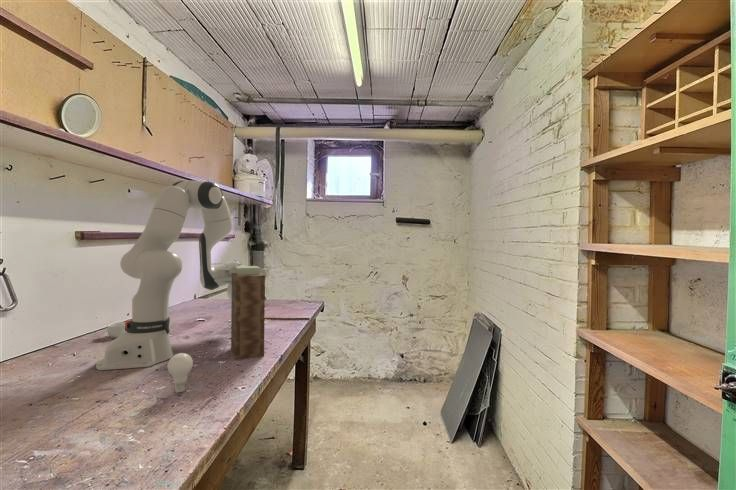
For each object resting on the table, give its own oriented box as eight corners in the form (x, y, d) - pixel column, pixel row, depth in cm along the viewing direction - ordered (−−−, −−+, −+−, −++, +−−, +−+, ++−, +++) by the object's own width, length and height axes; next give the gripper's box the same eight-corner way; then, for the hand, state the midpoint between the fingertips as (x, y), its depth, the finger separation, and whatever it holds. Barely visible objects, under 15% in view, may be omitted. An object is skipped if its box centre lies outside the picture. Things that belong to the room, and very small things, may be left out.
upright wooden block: (235, 360, 125) (236, 276, 125) (231, 348, 138) (231, 272, 137) (264, 356, 130) (264, 275, 129) (257, 345, 142) (258, 271, 142)
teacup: (128, 337, 151) (128, 325, 150) (106, 340, 146) (106, 327, 146) (129, 332, 159) (129, 320, 159) (108, 334, 155) (108, 322, 154)
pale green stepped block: (237, 275, 129) (237, 268, 129) (231, 270, 146) (232, 264, 146) (260, 274, 132) (260, 267, 132) (252, 269, 149) (252, 263, 149)
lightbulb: (185, 397, 96) (185, 357, 96) (162, 397, 96) (162, 357, 96) (197, 387, 102) (197, 350, 102) (175, 387, 102) (175, 349, 102)
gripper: (213, 275, 150) (215, 261, 139) (262, 273, 160) (268, 260, 149) (214, 289, 148) (216, 275, 137) (264, 286, 157) (269, 273, 146)
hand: (243, 267), depth 143 cm, fingers open, 5 cm apart
